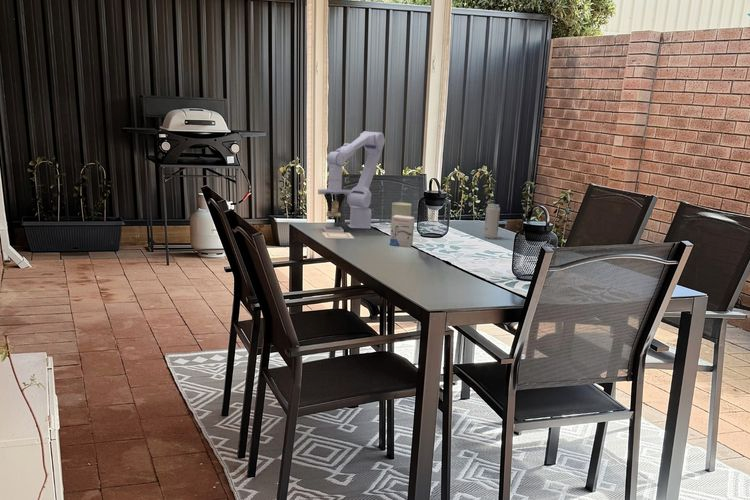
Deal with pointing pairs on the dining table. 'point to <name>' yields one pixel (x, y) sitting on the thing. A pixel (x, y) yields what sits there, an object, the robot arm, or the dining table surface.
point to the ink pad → (333, 229)
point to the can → (401, 209)
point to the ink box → (402, 231)
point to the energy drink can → (492, 221)
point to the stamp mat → (337, 235)
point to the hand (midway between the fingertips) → (333, 210)
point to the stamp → (334, 210)
